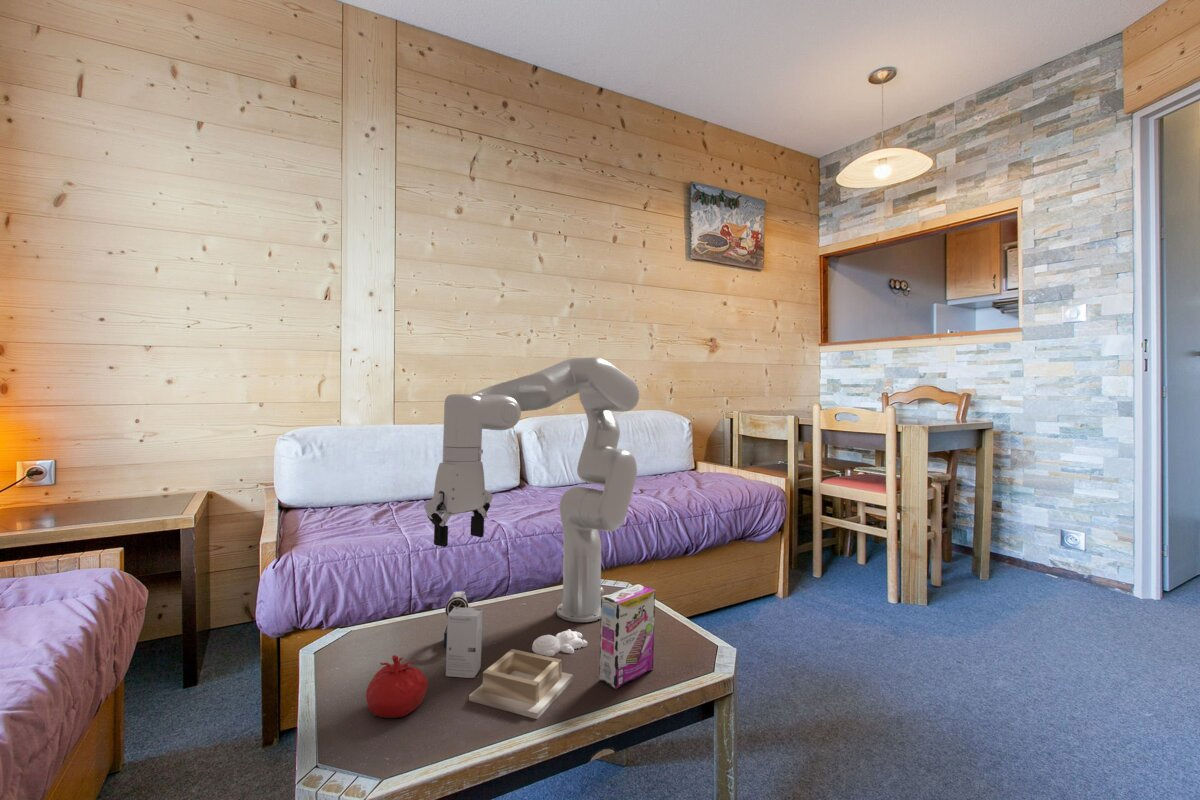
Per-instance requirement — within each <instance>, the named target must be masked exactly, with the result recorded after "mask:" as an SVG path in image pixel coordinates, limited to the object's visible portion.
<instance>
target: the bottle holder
mask: <svg viewBox="0 0 1200 800" xmlns="http://www.w3.org/2000/svg"><path fill="white" fill-rule="evenodd" d="M562 663H563V662H562V659H560V658H555V657H552V656H545V655H540V654H537V653H534V652H528V651H523V650H518V649H514V648H511V649H510V650H509V651H508V652H506V653H505V654H504V655H503V656H501V657H500V658H499V659H498V660H496V661H495V662H494V663H492V664H491V665H490V666H489V667H487V668H486V669H485V670H483V672H482V683H481V685H480V686H478V687H477V688H476V689H475V690H474V691H472V692H471V693H470V694H469V695H468V701H469V702H473V703H477V704H480V705H484V706H487V707H490V708H495V709H498V710H502V711H506V712H510V713H513V714H517V715H521V716H523V717H527V718H531V719H535V720H538V719H539V718H540V717H541V716H542V715H543V714H544V713H545V712H546V711H547V709H548V708H549V707H550V706H551V705H552V704H553V702H555V700H556V699H557V698H559V696H560V695H561V694H562V693H563V692H564V691H565V689H566V688H568V686H569V685H570V684H571V683H572V682H573V681H574V674H572V673H568V672H563V671H562V669H563V668H562V667H563V666H562Z"/></svg>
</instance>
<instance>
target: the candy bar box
mask: <svg viewBox="0 0 1200 800" xmlns="http://www.w3.org/2000/svg"><path fill="white" fill-rule="evenodd" d="M655 609H656V589H653V588H651V587H648V586H645V585H642V584H635V585H632V586H629V587H628V586H627V587H626V588H623V589H620V590H617V591H614V592H611V593H608V594H605V595H601V619H600V627H599V629H600V632H599V633H600V639H599V667H598V668H599V669H598V670H599V673H598V675H599V676H598V680H600V681H602V682H603V683H604V684H606V685H608V686H610V687H611V688H613V689H619V688H620V687H622V686H624V685H625V684H627V682H628V683H629V681H630V682H632V681H633V680H635V679H637V678H639V677H641V676H643V675H644V674H643V673H645V672H647V671H649V670H651V669H653V670H654V647H655V645H654V644H655V615H656V614H655V612H656V610H655ZM651 671H652V670H651ZM649 672H650V671H649ZM647 673H648V672H647ZM642 674H643V675H642ZM645 674H646V673H645ZM640 675H641V676H640ZM638 676H639V677H638ZM636 677H637V678H636ZM632 679H633V680H632ZM631 680H632V681H631Z"/></svg>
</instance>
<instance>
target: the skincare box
mask: <svg viewBox="0 0 1200 800" xmlns="http://www.w3.org/2000/svg"><path fill="white" fill-rule="evenodd" d="M446 627H447V648H446V651H445V652H446V656H445V657H446V658H445V660H446V661H445V676H446V677H454V678H466V679H467V678H468V679H469V678H470V679H473V678H476V676H477V674H479V671H480V669H481V667H482V666H481V665H482V639H483V637H482V635H483V633H482V632H483V608H474V607H471V608H467V607H466V608H461V607H454V608H453V609H452V611H451V612H450V613H449V615H448V617H447V625H446Z"/></svg>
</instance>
